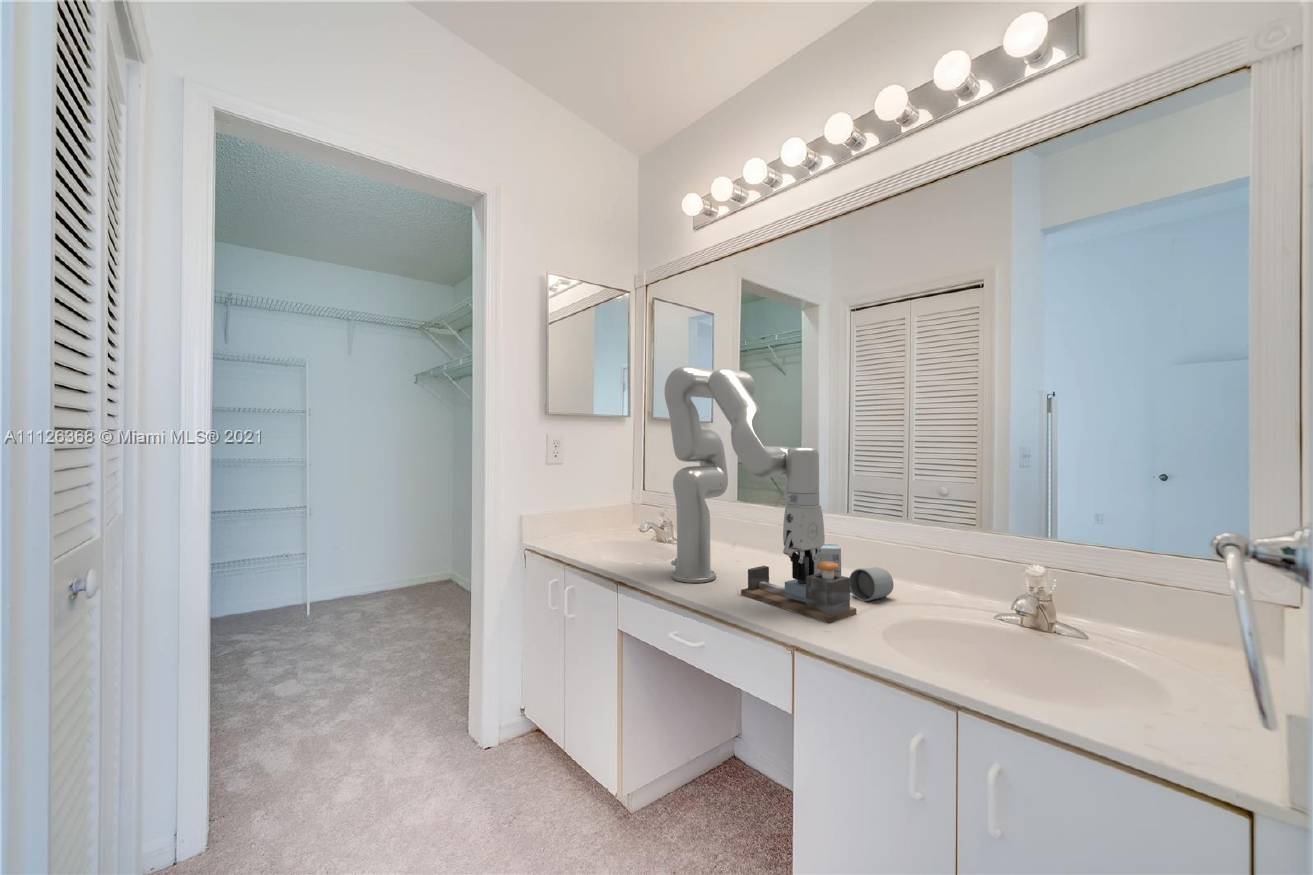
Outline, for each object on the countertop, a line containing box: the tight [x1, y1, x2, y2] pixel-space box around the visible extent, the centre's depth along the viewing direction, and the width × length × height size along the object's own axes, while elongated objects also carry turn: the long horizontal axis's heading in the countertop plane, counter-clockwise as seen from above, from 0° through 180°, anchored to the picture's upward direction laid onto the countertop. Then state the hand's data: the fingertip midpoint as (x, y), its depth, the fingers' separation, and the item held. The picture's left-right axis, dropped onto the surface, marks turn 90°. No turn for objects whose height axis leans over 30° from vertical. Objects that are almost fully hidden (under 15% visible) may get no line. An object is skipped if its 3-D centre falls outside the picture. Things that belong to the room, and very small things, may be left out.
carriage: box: [784, 556, 809, 602], centre depth 119 cm, size 6×6×10 cm
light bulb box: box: [796, 542, 842, 576], centre depth 137 cm, size 11×7×11 cm, turn 84°
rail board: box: [740, 565, 857, 624], centre depth 121 cm, size 26×10×8 cm, turn 36°
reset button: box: [817, 561, 838, 580], centre depth 114 cm, size 4×4×5 cm
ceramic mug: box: [848, 567, 895, 602], centre depth 126 cm, size 11×8×8 cm
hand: (803, 577), depth 119 cm, fingers closed on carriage, 2 cm apart
